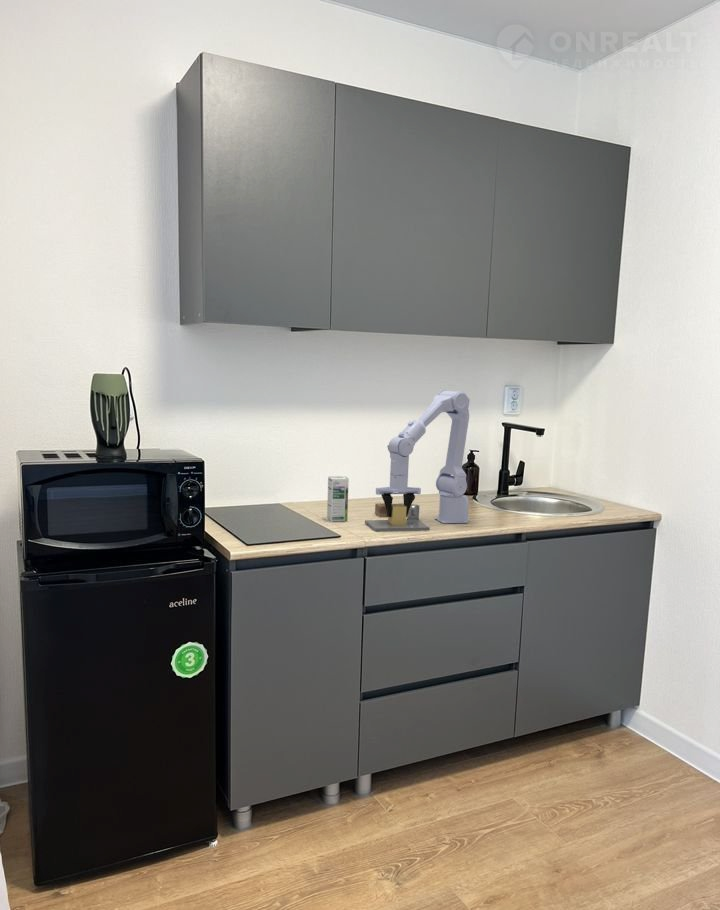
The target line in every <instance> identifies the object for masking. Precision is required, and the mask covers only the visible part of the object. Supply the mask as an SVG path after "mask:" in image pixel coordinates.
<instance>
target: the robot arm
mask: <svg viewBox="0 0 720 910" xmlns="http://www.w3.org/2000/svg"><path fill="white" fill-rule="evenodd" d="M470 400H471V399H470V398H469V396H468V395H467V393H466V392H464V391H461V390H458V391H456V390H455V391H453V390H445V389H442V390H439V392H438V393H437V394H436V395H435V396H434V397H433V400H432V402H431V403H430V405H429V406H428V407H427V409H426V410H425V411H424V412H423V413H422V414H421V416H420V417H419V418H418V419H417V420H416V419H415V420H414V419H413V420H412V421H409V422H408V423H407V426H406V427H405V428H404V429H403V430H402V431H400V432H399V433H398V435H397V436H394V437H392V438H391V439H390V441H389V443H388V445H387V447H386V448H387V451H388V452H389V458H390V469H389V471H390V472H389V474H390V475H389V486H385V487H376V488H375V494H376V495H377V496H378V495H379V496H380V495H381V498H382V500H383V503H385V506H386V511H387V516H388V517H391V507H392V504H393V500H394V497H393V496H392V495H402V498H403V503H404V505H405V506H406V507H407V509H406V518H407V515H408V512H409V509H410V506H411V504H413V502H414V501H415V499H416V495H421V492H422V488H421V487H413V486H412V487H410V486H408V483H409V482H408V481H409V466H410V465H409V463H410V462H409V461H410V455H411V454H413V451H414V446H415V445H416V444H417V442H418V441H419V440H420V439H421V438H422V437H423V436H424V435H425V434H426V427H428V426H429V425H430V424H431V423H432V422H434V420H435V419H436V418H437V417H438V416H440V414H442V413H446V414H447V415H448V416H449V417H450V418H451V426H450V433H449V439H448V447H447V451H446V460H445V465H444V466H443V467H442V468H440V470H439V473H438V477H437V478H436V480H435V486H436V489H437V490H438V495H439V506H438V507H439V508H438V516H435V517H434V519H435V520H436V519H437V520H436V521H438V522H439V523H442V524H463V523H464V524H465V523H466V524H468V523H470V521H469V510H470V509H469V506H470V505H469V498H468V496H467V495H464V494H465V493H466V491H467V488H468V484H467V474H466V472H465V470H464V468H463V461H464V454H465V449H466V447H465V446H466V442H467V435H468V428H469V427H468V426H469V422H470V411H469V406H470ZM388 517H387V518H388Z"/></svg>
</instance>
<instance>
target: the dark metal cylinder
mask: <svg viewBox="0 0 720 910" xmlns="http://www.w3.org/2000/svg"><path fill="white" fill-rule="evenodd" d="M407 519H408V520H411V519H417V520H419V521H420V505H419V504H414V503H412V504H411V506H410V509H409V512H408V515H407V517H406V520H407Z"/></svg>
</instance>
